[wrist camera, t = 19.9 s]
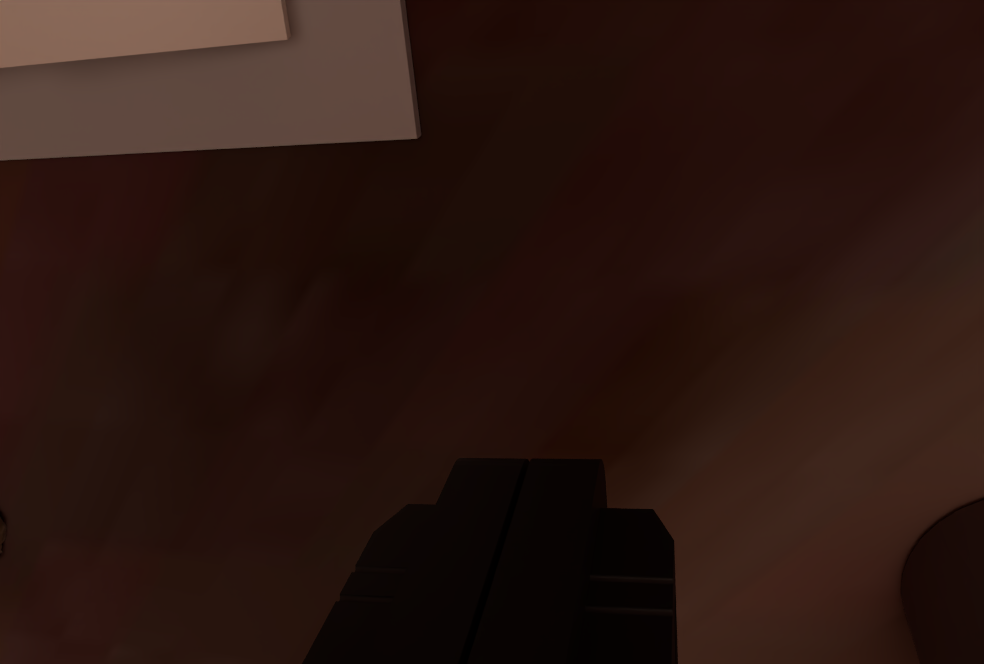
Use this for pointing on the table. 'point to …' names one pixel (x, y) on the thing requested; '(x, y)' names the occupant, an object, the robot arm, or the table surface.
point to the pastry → (2, 533)
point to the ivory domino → (131, 27)
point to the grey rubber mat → (225, 91)
